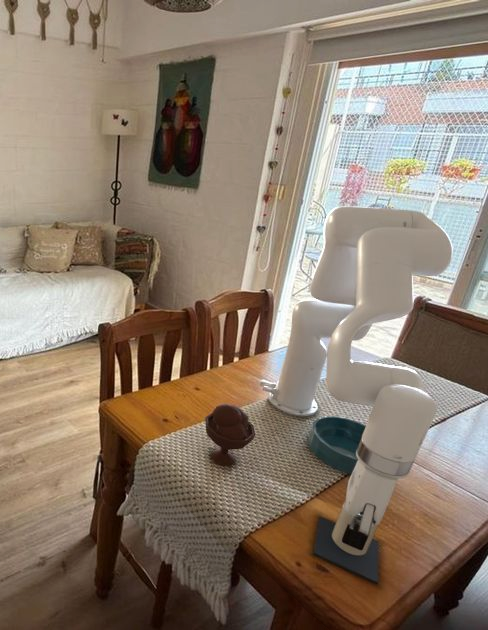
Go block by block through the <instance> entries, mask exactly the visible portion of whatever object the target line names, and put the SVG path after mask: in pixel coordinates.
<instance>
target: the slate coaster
mask: <svg viewBox="0 0 488 630" xmlns="http://www.w3.org/2000/svg"><path fill="white" fill-rule="evenodd" d="M335 524H336V521H333V520H330V519H328V518H326V517H324V516H321V515H319V517H318V521H317V529H316V533H315V534H316V535H315V542H314V546H313V553H312V556H314V557H317V558H319V559H321V560H323V561H325V562H327V563H330V564H332V565H333V566H334V565H335V567H338V568H340V569H342V570H344V571H346V572H349V573H351V574H353V575H355V576H357V577H359V578H362V579H364V580H366V581H368V582H370V583H372V584H375V585H378V584H379V547H380V546H379V543H380V541H379V540H377V539H375V538H373V539H372V541H371V543H370V546H369V548H368V550H367V552H366V553H365V554H364V555H353V554H350V553H348V552H346V551H344V550H343V549H341V548H340V547H339V546H338V545H337V544H336V543H335V542H334V540H333V538H332V532H333V529H334V527H335Z"/></svg>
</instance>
